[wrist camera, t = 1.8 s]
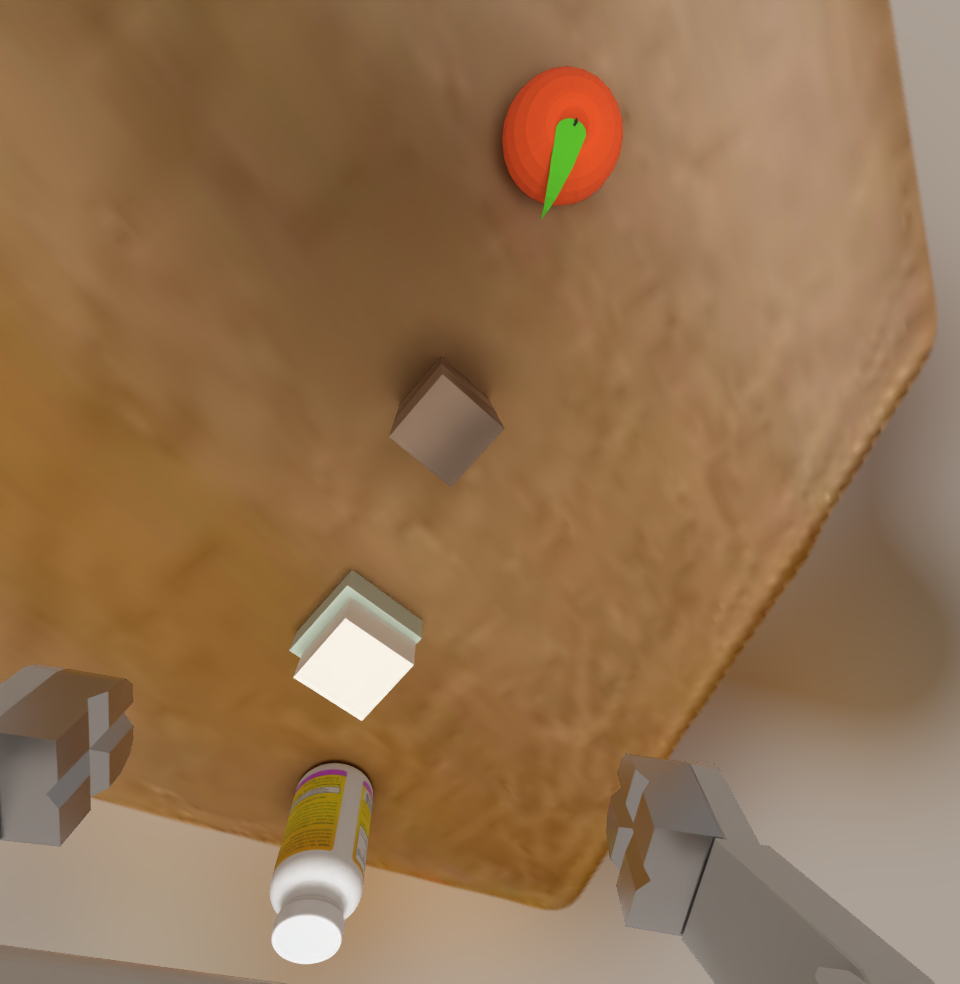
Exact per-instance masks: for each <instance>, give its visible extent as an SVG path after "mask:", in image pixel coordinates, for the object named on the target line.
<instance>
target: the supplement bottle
mask: <svg viewBox="0 0 960 984" xmlns="http://www.w3.org/2000/svg"><path fill="white" fill-rule="evenodd" d="M372 804H373V790H372V786H371V783H370V781H369V780H368V778H367V777H366V776H365V775H364V774H363V773H362V772H361V771H359V770H358V769H356V768H354V767H352V766H349V765H346V764H341V763H329V764H324V765H320V766H318V767H316V768H314V769H312V770H310V771H309V772H308V773H306V774H305V775H304V777H303V778H302V779H301V780H300V782H299V784H298V786H297V789H296V792H295V795H294V799H293V803H292V806H291V810H290V814H289V817H288V821H287V825H286V828H285V832H284V836H283V840H282V843H281V847H280V851H279V854H278V858H277V862H276V865H275V869H274V872H273V877H272V880H271V885H270V899H271V903H272V905H273V908H274V909H275V911H276V912H277V914H278V915H277V917H276V920H275V924H274V928H273V932H272V945H273V948H274V949H275V951H276V952H277V953H278V954H279V955H280V956H281V957H282V958H284V959H286V960H288V961H291V962H294V963H300V964H313V963H318V962H321V961H324V960H326V959H328V958H330V957H331V956H333V955H334V954H335V953H336V952H337V950H338V949H339V947H340V945H341V942H342V937H343V931H344V926H345V921H344V920H345V919H346V918H347V917H349V916H350V915H351V914H352V913H353V911H354V910H355V909H356V907H357V905H358V903H359V901H360V899H361V895H362V889H363V882H364V872H365V864H366V855H367V847H368V838H369V830H370V822H371V813H372Z"/></svg>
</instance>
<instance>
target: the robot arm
mask: <svg viewBox="0 0 960 984" xmlns="http://www.w3.org/2000/svg"><path fill="white" fill-rule="evenodd" d="M132 703H133V684H132V683H131V682H129V681H128V680H127V679H124V678H118V677H113V676H107V675H101V674H95V673H89V672H83V671H78V670H72V669H63V668H58V667H52V666H46V665H39V664H35V665H29V666H25V667H24V668H23V669H21V670H20V671H19V672H17V673H16V674H14V675H13V676H12V677H10V678H9V679H7V680H6V681H5V682H3V683H2V684H1V685H0V840H4V841H13V842H22V843H31V844H41V845H50V846H59V847H60V846H61V845H62V844H63V843H64V841H65V840H66V839H67V838H68V837H69V835H70V834H71V833H72V832H73V831H74V829H75V828H76V827H77V826H78V825H79V824H80V822H81V821H82V820H83V819H84V818H85V816H86V815H87V814H88V813H89V811H90V810H91V806H90V805H91V804H90V803H91V801H90V797H91V796H93V795H95V794H97V793H99V792H101V791H103V790H105V789H107V788H109V787H110V786H111V785H112V784H113V782H114V781H115V780H116V778H117V777H118V776H119V775H120V773H121V772H122V770H123V767H124V765H125V763H126V761H127V759H128V757H129V755H130V751H131V746H132V742H133V725H132V723H131V722H130V720H129V719H128V718H127V716H126V715H125V713H124V712H125V711H126V709H127V708H128V707H129V706H130V705H131V704H132ZM617 774H618V778H619V782H620V785H621V788H620V789H619V790H618V791H617V792H615V793H614V794H613V795H612V796H611V800H610V804H609V808H608V813H607V828H606V834H607V845H608V850H609V855H610V859H611V861H612V862H613V863H614V864H615V865H616V866H617V867H618V868H619V870H620V873H619V877H618V881H617V884H616V887H617V891H618V895H619V899H620V904H621V908H622V913H623V917H624V921H625V926H626V927H632V928H638V929H643V930H649V931H656V932H661V933H667V934H672V935H678V936H682V940H683V942H684V943H685V944H686V945H687V947H688V948H689V949H690V951H691V952H692V953H693V955H694V956H695V958H696V959H697V960H698V962H699V963H700V964H701V965H702V967H703V968H704V970H705V971H706V972H707V974H708V975H709V976H710V978H711V979H712V980H713V981H714V983H715V984H935V983H934V982H933V981H932V980H931V979H930V978H929V977H928V976H926V975H925V974H924V973H923V972H921V971H920V970H919V969H918V968H917V967H916V966H914V965H913V964H912V963H911V962H910V961H908V960H907V959H906V958H905V957H903V956H902V955H901V954H900V953H899V952H897V951H896V950H895V949H894V948H892V947H891V946H890V945H889V944H888V943H886V942H885V941H884V940H883V939H882V938H880V937H879V936H878V935H877V934H876V933H874V932H873V931H872V930H871V929H869V928H868V927H867V926H866V925H865V924H863V923H862V922H861V921H860V920H859V919H857V918H856V917H855V916H853V915H852V914H851V913H850V912H849V911H848V910H846V909H845V908H844V907H843V906H841V905H840V904H839V903H838V902H837V901H835V900H834V899H833V898H832V897H831V896H829V895H828V894H827V893H826V892H825V891H823V890H822V889H821V888H820V887H819V886H817V885H816V884H815V883H814V882H812V881H811V880H810V879H809V878H808V877H806V876H805V875H804V874H803V873H802V872H800V871H799V870H798V869H797V868H795V867H794V866H793V865H792V864H791V863H789V862H788V861H787V860H786V859H785V858H783V857H782V856H781V855H780V854H778V853H777V852H776V851H775V850H774V849H772V848H771V847H770V846H766V845H760V844H759V842H758V840H757V838H756V836H755V834H754V832H753V830H752V828H751V827H750V825H749V823H748V821H747V819H746V817H745V815H744V813H743V811H742V810H741V808H740V806H739V804H738V802H737V800H736V798H735V796H734V794H733V792H732V791H731V789H730V787H729V785H728V783H727V781H726V779H725V777H724V775H723V774H722V772H721V770H720V768H718V767H717V766H716V765H715V764H707V763H699V762H690V761H684V762H681V761H675V760H668V759H661V758H654V757H647V756H640V755H633V754H626V753H625V755H624V756H623V758H622V760H621V762H620V766H619V769H618V773H617ZM0 984H285V983H278V982H271V981H263V980H255V979H248V978H240V977H234V976H226V975H219V974H212V973H204V972H196V971H190V970H182V969H175V968H167V967H160V966H153V965H145V964H138V963H131V962H124V961H116V960H109V959H102V958H94V957H87V956H80V955H72V954H65V953H58V952H50V951H43V950H36V949H28V948H20V947H14V946H6V945H0Z"/></svg>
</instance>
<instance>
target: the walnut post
mask: <svg viewBox="0 0 960 984" xmlns="http://www.w3.org/2000/svg"><path fill="white" fill-rule="evenodd" d="M503 429H504V427H503V425H502V423H501V421H500V419H499V417H498V416H497V414H496V412H495V410H494V408H493V406H492V404H491V402H490V400H489V399H488V398H487V397H486V396H485V395H483V394H482V393H481V392H480V391H479V390H478V389H477V388H476V387H474V386H473V385H472V384H471V383H470V382H469V381H468V380H467V379H465V378H464V377H463V376H462V375H461V374H460V373H459V372H457V371H456V370H455V369H454V368H453V367H452V366H451V365H450V364H448V363H447V362H446V361H445V360H444V359H443V358H442V357H440V358H439V359H438V361H437V362H436V363H435V364H434V365H433V366H432V368H431V369H430V370H429V371H428V372H427V374H426V375H425V376H424V377H423V378H422V379H421V381H420V382H419V383H418V384H417V385H416V387H415V388H414V389H413V390H412V391H411V392H410V394H409V395H408V396H407V397H406V398H405V399H404V401H403V402H402V403H401V404H400V405H399V408H398V411H397V414H396V417H395V420H394V423H393V426H392V429H391V432H390V435H389V437H390V438H391V439H392V440H393V441H395V442H396V443H397V444H398V445H400V446H401V447H402V448H403V449H404V450H406V451H407V452H408V453H409V454H411V455H412V456H413V457H414V458H415V459H417V460H418V461H419V462H420V463H422V464H423V465H424V466H425V467H427V468H428V469H429V470H430V471H431V472H433V473H434V474H435V475H436V476H438V477H439V478H440V479H441V480H442V481H444V482H445V483H446V484H447V485H449V486H450V487H452V486H453V485H454V484H455V483H456V482H457V481H458V479H459V478H460V477H461V476H462V475H463V474H464V473H465V472H466V471H467V469H468V468H469V467H470V466H471V465H472V464H473V463H474V462H475V461H476V459H477V458H478V457H479V456H480V455H481V454H482V453H483V452H484V451H485V449H486V448H487V447H488V446H489V445H490V444H491V443H492V442H493V441H494V439H495V438H496V437H497V436H498V435H499V434H500V433H501V432H502V431H503Z"/></svg>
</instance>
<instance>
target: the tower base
mask: <svg viewBox="0 0 960 984" xmlns="http://www.w3.org/2000/svg"><path fill="white" fill-rule="evenodd" d="M350 598H353V599H354V600H355V601H357V602H358V603H360V604H361V605H363V606H364V607H366V608H367V609H368V610H370V611H371V612H373V613H374V614H376V615H377V616H379V617H380V618H381V619H383V620H384V621H386V622H387V623H389V624H390V625H391V626H393V627H394V628H396V629H397V630H399V631H400V632H402V633H403V634H404V635H406V636H407V637H409V638H410V639H412V640H413V641H414V642H415V645H416V644H417V643H418V642H419V641H420V640H421V639H422V620H421V619H419V618H418V617H417V616H415V615H414V614H412V613H411V612H410V611H408V610H407V609H405V608H404V607H403V606H401V605H400V604H399V603H397V602H396V601H394V600H393V599H392V598H390V597H389V596H388V595H386V594H385V593H383V592H382V591H381V590H379V589H378V588H377V587H375V586H374V585H372V584H371V583H370V582H368V581H367V580H366V579H364V578H363V577H361V576H360V575H359V574H357V573H356V572H354V571H353V570H351V571H350V573H349V574H348V575H347V576H346V577H345V578H344V579H343V580H342V582H341V583H340V584H339V585H338V586H337V587H336V588H335V589H334V591H333V592H332V593H331V594H330V595H329V596H328V597H327V598H326V600H325V601H324V602H323V603H322V604H321V605H320V606H319V608H318V609H317V610H316V611H315V612H314V613H313V614H312V615H311V617H310V618H309V619H308V620H307V621H306V622H305V623H304V624H303V626H302V627H301V628H300V629H299V630H298V631H297V633H296V635H295V638H294V640H293V643H292V645H291V647H290V650H289V651H291V652H292V653H294V654H295V655H297V656H298V657H300V658H301V655H302V653H303V652H304V651H305V650H306V649H307V648H308V646H309V645H310V644H311V643H312V642H313V641H314V640H315V638H316V637H317V636H318V635H319V634H320V633H321V631H322V630H323V629H324V628H325V627H326V626H327V625H328V623H329V622H330V621H331V620H332V619H333V618H334V617H335V615H336V614H337V613H338V612H339V611H340V610H341V609H342V607H343V606H344V605H345V604H346V603H347V602H348V601H349V599H350Z"/></svg>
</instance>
